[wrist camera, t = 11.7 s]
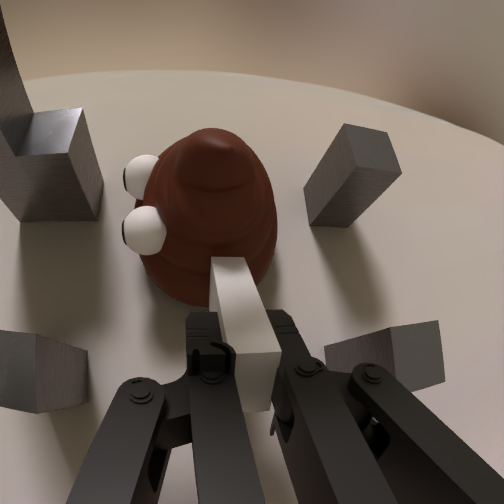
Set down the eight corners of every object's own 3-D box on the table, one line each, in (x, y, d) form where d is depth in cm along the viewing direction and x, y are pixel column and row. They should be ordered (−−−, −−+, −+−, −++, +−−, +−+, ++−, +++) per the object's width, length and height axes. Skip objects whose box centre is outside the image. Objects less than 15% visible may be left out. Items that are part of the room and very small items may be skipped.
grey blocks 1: (347, 227, 22) (402, 173, 16) (56, 221, 18) (15, 156, 12) (340, 191, 23) (386, 132, 17) (64, 182, 19) (33, 113, 13)
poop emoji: (281, 302, 19) (357, 240, 11) (137, 317, 17) (95, 261, 9) (253, 164, 23) (291, 61, 14) (133, 170, 21) (118, 59, 12)
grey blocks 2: (369, 386, 18) (445, 381, 12) (42, 396, 14) (-23, 400, 8) (365, 341, 19) (438, 320, 13) (42, 346, 15) (-23, 326, 9)
